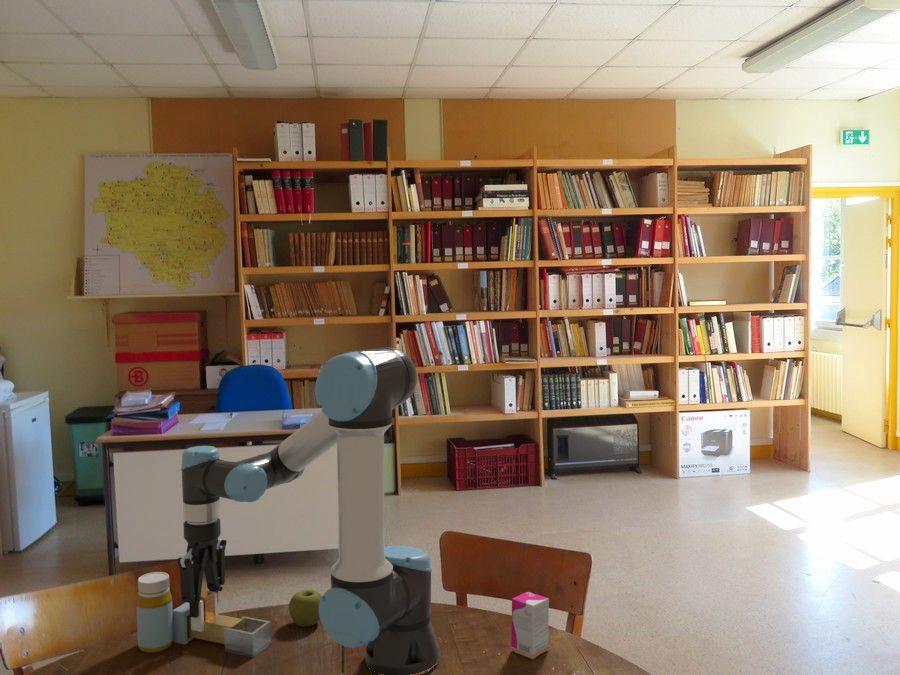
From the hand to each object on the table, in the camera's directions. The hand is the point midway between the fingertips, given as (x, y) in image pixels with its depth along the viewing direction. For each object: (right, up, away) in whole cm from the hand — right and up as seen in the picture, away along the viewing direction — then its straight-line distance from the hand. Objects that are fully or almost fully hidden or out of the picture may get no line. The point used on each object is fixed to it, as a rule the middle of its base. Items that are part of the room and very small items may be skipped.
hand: (204, 625), depth 169 cm
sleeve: (+10, -3, -4) cm, 11 cm away
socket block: (-4, -3, +2) cm, 5 cm away
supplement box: (+70, -4, -5) cm, 70 cm away
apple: (+21, -3, +8) cm, 22 cm away
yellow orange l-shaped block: (+2, -2, -1) cm, 3 cm away
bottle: (-9, -4, -3) cm, 10 cm away
